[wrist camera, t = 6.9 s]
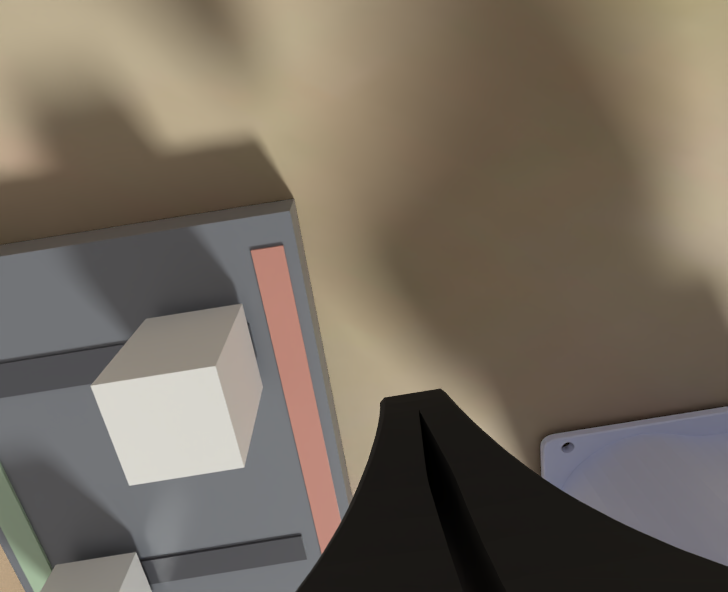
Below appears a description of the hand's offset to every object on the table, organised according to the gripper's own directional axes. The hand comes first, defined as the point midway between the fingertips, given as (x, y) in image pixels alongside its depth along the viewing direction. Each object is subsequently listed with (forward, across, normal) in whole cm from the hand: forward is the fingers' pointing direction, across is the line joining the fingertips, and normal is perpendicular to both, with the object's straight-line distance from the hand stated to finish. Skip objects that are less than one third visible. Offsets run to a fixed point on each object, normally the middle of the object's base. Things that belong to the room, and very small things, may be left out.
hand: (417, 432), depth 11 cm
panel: (+8, +9, +9) cm, 15 cm away
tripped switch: (+6, +6, 0) cm, 8 cm away
